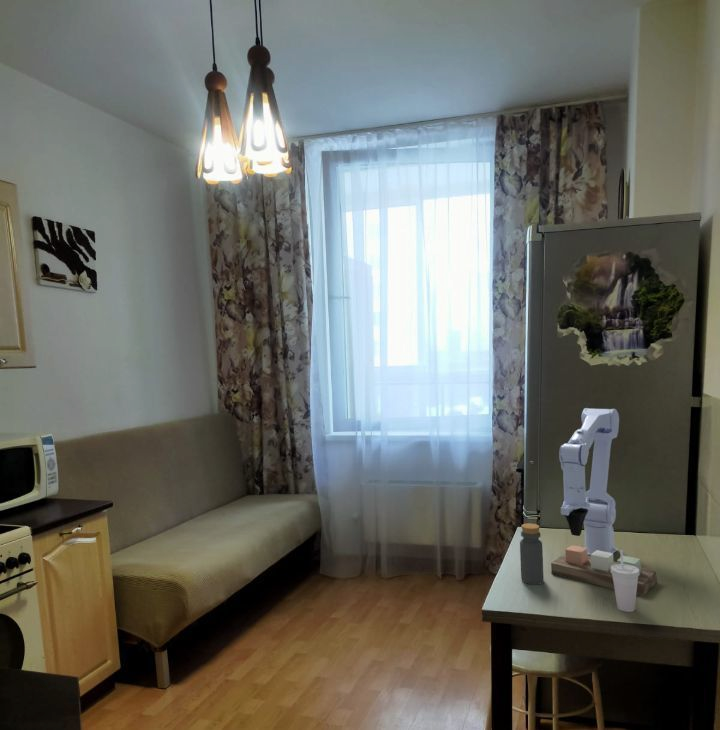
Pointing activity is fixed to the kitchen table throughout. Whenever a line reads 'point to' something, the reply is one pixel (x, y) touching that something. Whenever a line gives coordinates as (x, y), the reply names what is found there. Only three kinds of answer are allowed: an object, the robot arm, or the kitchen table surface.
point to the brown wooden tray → (600, 574)
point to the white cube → (602, 560)
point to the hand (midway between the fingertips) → (576, 534)
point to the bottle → (531, 554)
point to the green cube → (631, 562)
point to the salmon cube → (576, 555)
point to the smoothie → (625, 585)
